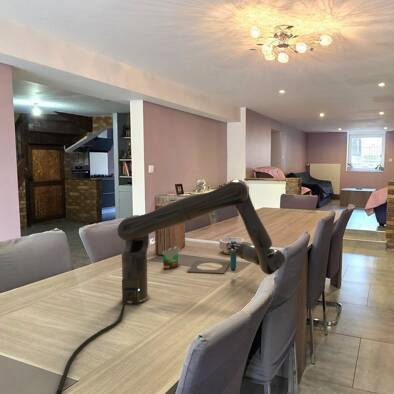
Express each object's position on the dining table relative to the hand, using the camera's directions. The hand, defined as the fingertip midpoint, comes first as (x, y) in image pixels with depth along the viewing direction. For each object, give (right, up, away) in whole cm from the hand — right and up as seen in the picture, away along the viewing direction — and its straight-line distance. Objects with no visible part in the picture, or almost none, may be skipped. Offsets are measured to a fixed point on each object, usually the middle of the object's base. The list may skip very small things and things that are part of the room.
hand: (230, 244), depth 161 cm
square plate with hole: (-12, -14, +14) cm, 23 cm away
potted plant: (-31, -14, +15) cm, 37 cm away
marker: (+1, -12, -1) cm, 12 cm away
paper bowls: (-3, -11, +46) cm, 47 cm away
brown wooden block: (-41, -11, +48) cm, 64 cm away
